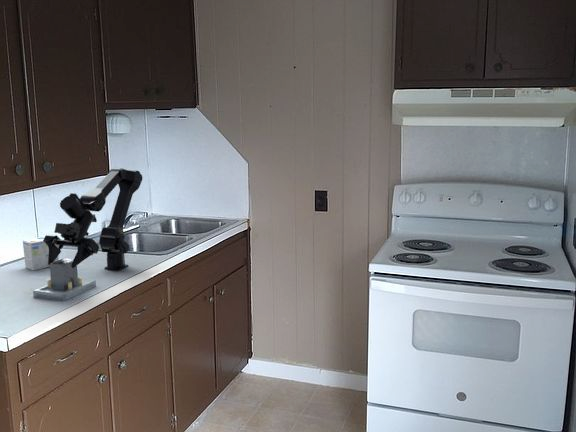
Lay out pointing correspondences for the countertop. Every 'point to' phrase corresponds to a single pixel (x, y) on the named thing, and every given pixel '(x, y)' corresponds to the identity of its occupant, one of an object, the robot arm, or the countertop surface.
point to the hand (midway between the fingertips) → (60, 266)
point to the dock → (62, 296)
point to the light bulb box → (36, 253)
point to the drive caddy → (63, 274)
